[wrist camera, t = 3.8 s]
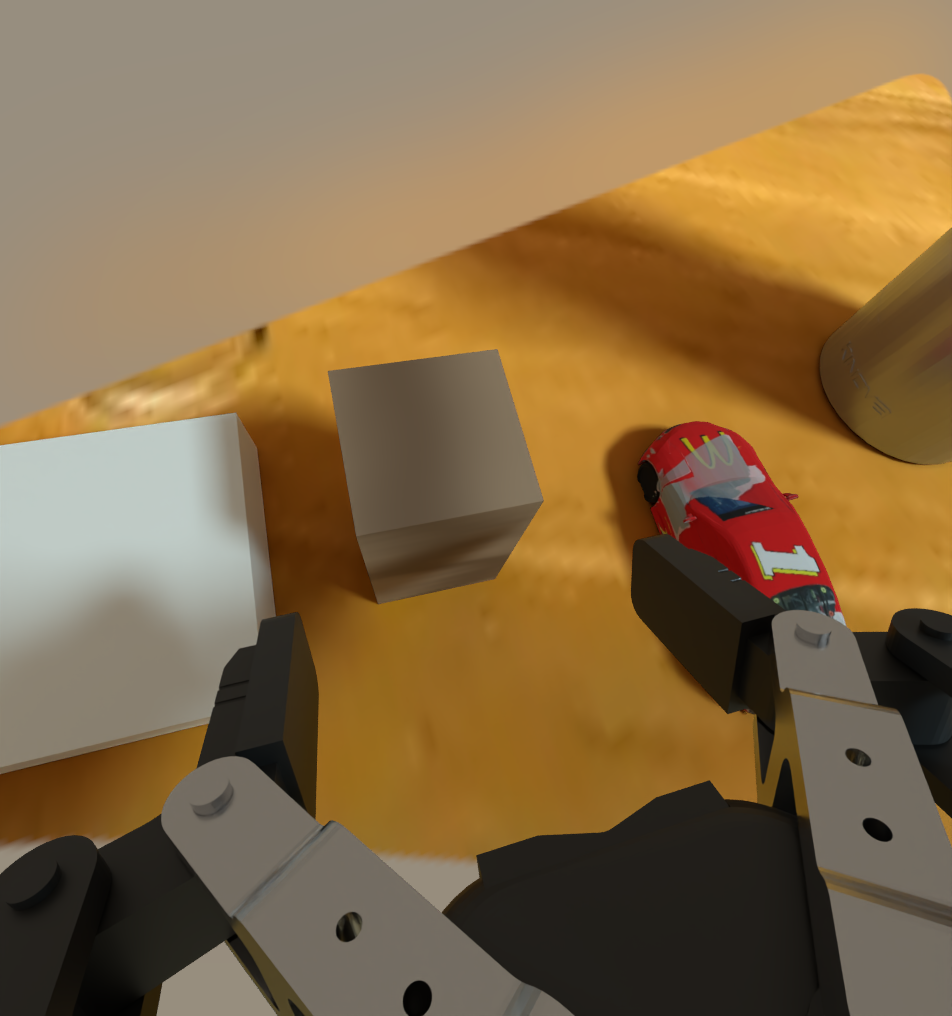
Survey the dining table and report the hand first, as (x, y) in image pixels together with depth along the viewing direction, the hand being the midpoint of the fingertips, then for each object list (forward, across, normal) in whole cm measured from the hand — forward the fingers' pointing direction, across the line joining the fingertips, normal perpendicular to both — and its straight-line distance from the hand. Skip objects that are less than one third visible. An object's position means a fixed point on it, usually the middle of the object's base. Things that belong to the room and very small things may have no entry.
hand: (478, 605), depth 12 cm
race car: (+8, -13, +6) cm, 16 cm away
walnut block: (+10, 0, +3) cm, 11 cm away
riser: (+10, +12, +3) cm, 16 cm away
